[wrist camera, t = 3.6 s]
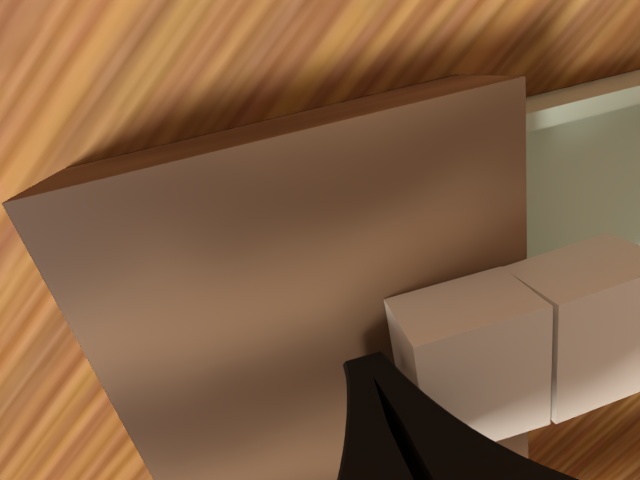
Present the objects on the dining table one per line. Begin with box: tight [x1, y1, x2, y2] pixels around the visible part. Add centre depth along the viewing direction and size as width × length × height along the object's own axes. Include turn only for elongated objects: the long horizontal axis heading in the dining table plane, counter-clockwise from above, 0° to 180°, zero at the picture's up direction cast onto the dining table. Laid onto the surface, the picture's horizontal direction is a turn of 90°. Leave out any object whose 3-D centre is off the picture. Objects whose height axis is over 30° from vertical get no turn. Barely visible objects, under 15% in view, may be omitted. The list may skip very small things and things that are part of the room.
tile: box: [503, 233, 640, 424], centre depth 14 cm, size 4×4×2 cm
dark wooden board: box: [2, 75, 528, 480], centre depth 16 cm, size 16×14×4 cm
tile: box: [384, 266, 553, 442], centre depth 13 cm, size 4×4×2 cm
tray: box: [526, 69, 640, 259], centre depth 18 cm, size 13×10×2 cm
